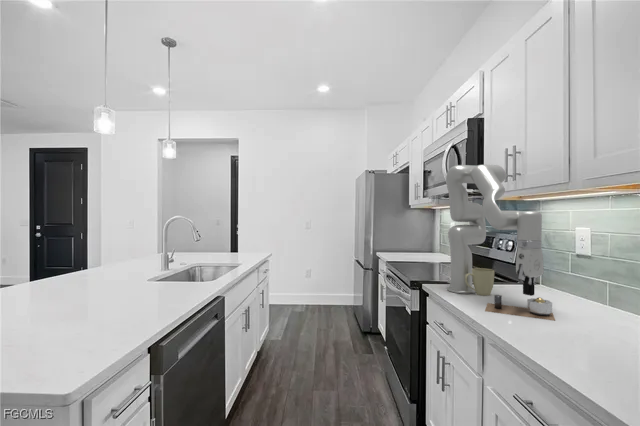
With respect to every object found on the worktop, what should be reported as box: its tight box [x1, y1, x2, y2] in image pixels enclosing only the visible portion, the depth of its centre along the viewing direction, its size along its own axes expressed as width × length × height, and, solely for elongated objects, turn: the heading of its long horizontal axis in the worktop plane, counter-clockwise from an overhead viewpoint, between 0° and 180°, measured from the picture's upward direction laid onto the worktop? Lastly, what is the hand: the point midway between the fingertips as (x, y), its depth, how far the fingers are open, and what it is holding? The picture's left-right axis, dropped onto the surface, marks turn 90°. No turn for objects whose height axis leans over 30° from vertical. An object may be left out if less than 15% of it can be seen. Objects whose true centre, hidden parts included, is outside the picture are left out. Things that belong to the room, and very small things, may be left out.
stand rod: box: [493, 294, 503, 309], centre depth 122 cm, size 2×2×5 cm
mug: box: [465, 267, 496, 297], centre depth 144 cm, size 11×10×12 cm
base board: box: [484, 302, 556, 322], centre depth 119 cm, size 21×13×1 cm, turn 58°
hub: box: [530, 297, 549, 316], centre depth 115 cm, size 6×6×6 cm
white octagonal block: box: [526, 297, 553, 314], centre depth 115 cm, size 7×7×4 cm
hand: (528, 294), depth 119 cm, fingers closed
